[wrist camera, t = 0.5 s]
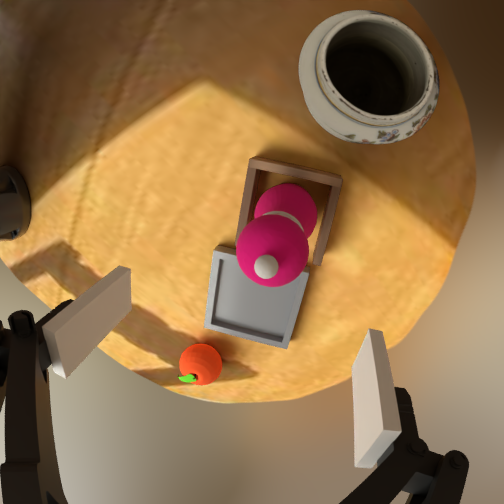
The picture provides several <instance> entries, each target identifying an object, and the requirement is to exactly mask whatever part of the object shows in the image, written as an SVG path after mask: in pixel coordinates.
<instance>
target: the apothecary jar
mask: <svg viewBox="0 0 504 504" xmlns="http://www.w3.org/2000/svg"><path fill="white" fill-rule="evenodd" d="M299 78H300V83H301V87H302V90H303V94H304V98H305V102H306V104H307V107H308V109H309V111H310V113H311V114H312V116H313V117H314V119H315V120H316V121H317V122H318V123H319V124H320V125H321V126H322V127H323V128H324V129H325V130H326V131H328V132H329V133H331V134H332V135H334V136H336V137H338V138H340V139H342V140H345V141H348V142H353V143H359V144H366V143H369V144H387V143H393V142H397V141H400V140H403V139H405V138H408V137H410V136H411V135H413V134H415V133H416V132H417V131H419V130H420V129H421V128H422V127H423V126H424V125H425V124H426V122H427V121H428V120H429V118H430V117H431V115H432V113H433V111H434V109H435V106H436V104H437V100H438V95H439V76H438V70H437V67H436V64H435V61H434V58H433V56H432V54H431V52H430V50H429V49H428V47H427V45H426V44H425V43H424V41H423V40H422V39H421V38H420V37H419V36H418V35H417V34H416V33H415V32H414V31H413V30H412V29H411V28H410V27H408V26H407V25H406V24H404V23H403V22H401V21H399V20H397V19H395V18H393V17H391V16H389V15H386V14H383V13H380V12H375V11H368V10H352V11H347V12H342V13H339V14H336V15H334V16H332V17H330V18H328V19H326V20H325V21H323V22H322V23H320V24H319V25H318V26H317V27H316V28H315V29H314V30H313V31H312V33H311V34H310V35H309V37H308V38H307V40H306V41H305V43H304V46H303V48H302V51H301V54H300V59H299Z"/></svg>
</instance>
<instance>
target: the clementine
mask: <svg viewBox="0 0 504 504" xmlns="http://www.w3.org/2000/svg"><path fill="white" fill-rule="evenodd" d="M180 370H181V373H182V375H183V377H179V376H178V378H179V379H180V380H182V381H184V382H191V383H193V384H196V385H207V384H210V383H212V382H213V381H215V380H216V379H217V378H218V376H219V375H220V373H221V370H222V360H221V357H220V355H219V353H218V352H217V351H216V350H215V349H214V348H213V347H212V346H209V345H207V344H194V345H192V346H190V347H188V348H187V349H186V350H185V351H184V352H183V353H182V355H181V358H180Z"/></svg>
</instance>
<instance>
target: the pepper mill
mask: <svg viewBox="0 0 504 504" xmlns="http://www.w3.org/2000/svg"><path fill="white" fill-rule="evenodd" d="M254 216H255V219H254V220H252V221H251V222H250V223H248V224H247V225H246V226H245V227H244V229H243V230H242V232H241V233H240V235H239V238H238V240H237V245H236V256H237V260H238V264H239V266H240V268H241V270H242V271H243V273H244V274H245V275H246V276H247V277H248V278H249V279H251V280H252V281H253V282H255V283H257V284H259V285H263V286H267V287H280V286H283V285H286V284H288V283H290V282H292V281H293V280H295V279H296V278H297V277H298V276H299V275H300V274H301V272H302V271H303V270H304V268H305V266H306V264H307V261H308V256H309V245H308V240H307V238H308V237H309V236H310V235H311V234H312V232H313V230H314V228H315V225H316V222H317V209H316V205H315V203H314V201H313V199H312V198H311V196H310V194H309V193H308V192H307V191H306V190H305V189H304V188H303V187H301V186H299V185H297V184H293V183H284V184H280V185H277V186H274V187H272V188H270V189H268V190H267V191H266V192H265V193H263V195H262V196H261V197H260V199H259V201H258V203H257V205H256V208H255V213H254Z"/></svg>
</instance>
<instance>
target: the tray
mask: <svg viewBox="0 0 504 504" xmlns="http://www.w3.org/2000/svg"><path fill="white" fill-rule="evenodd" d="M309 271H310V267H307V266H305V268H304V270H303V271H302V272H301V274H300V275H299V276H298V277H297V278H296V279H295V280H293V281H292V282H290V283H288V284H286V285H283V286H280V287H267V286H263V285H259V284H257V283H255V282H253V281H252V280H251V279H249V278H248V277H247V276H246V275H245V274H244V273H243V271H242V270H241V268H240V266H239V264H238V260H237V256H236V249H232V248H228V247H224V246H220V245H218V246H217V247H216V248H215V249H214V251H213V258H212V266H211V273H210V281H209V289H208V297H207V305H206V314H205V322H204V328H207V329H211V330H215V331H218V332H222V333H225V334H229V335H233V336H236V337H240V338H244V339H248V340H252V341H255V342H259V343H263V344H267V345H271V346H275V347H280V348H284V349H287V348H288V344H289V341H290V338H291V335H292V331H293V328H294V325H295V321H296V318H297V315H298V311H299V308H300V304H301V301H302V297H303V294H304V290H305V287H306V283H307V280H308V276H309Z"/></svg>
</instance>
